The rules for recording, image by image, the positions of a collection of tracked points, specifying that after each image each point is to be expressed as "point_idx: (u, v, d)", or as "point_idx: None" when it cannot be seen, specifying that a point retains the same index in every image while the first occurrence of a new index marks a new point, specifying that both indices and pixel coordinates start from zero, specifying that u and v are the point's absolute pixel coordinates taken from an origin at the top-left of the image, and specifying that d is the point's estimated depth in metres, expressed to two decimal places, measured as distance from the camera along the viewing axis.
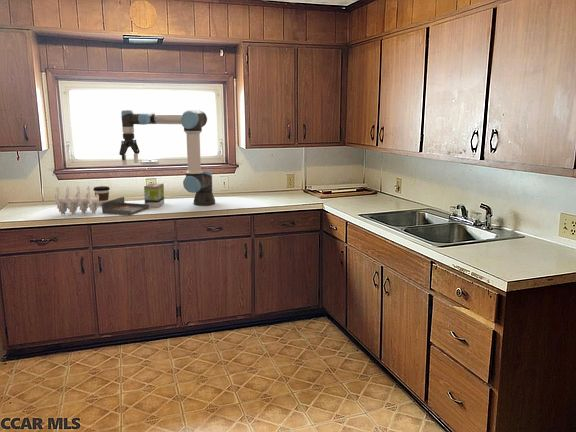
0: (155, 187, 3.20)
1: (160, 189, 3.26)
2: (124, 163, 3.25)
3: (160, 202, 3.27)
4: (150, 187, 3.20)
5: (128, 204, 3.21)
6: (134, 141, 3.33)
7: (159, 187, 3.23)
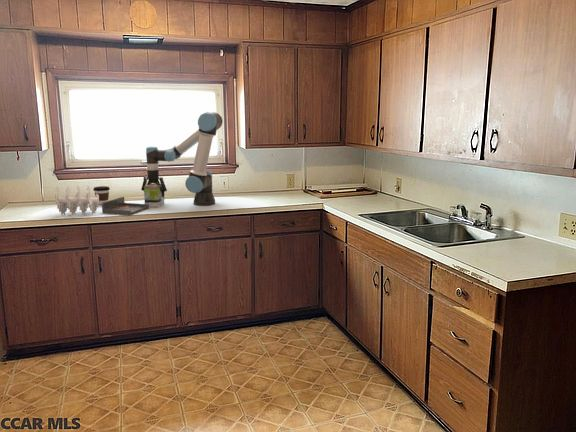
0: (155, 187, 3.20)
1: None
2: None
3: (160, 202, 3.26)
4: (150, 187, 3.20)
5: (128, 204, 3.21)
6: None
7: (159, 187, 3.23)
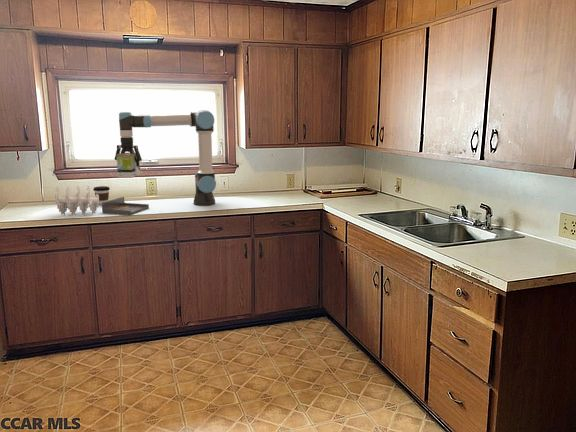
0: (128, 155, 2.96)
1: None
2: None
3: (134, 172, 3.02)
4: (123, 155, 2.96)
5: (128, 204, 3.21)
6: None
7: (133, 156, 2.99)
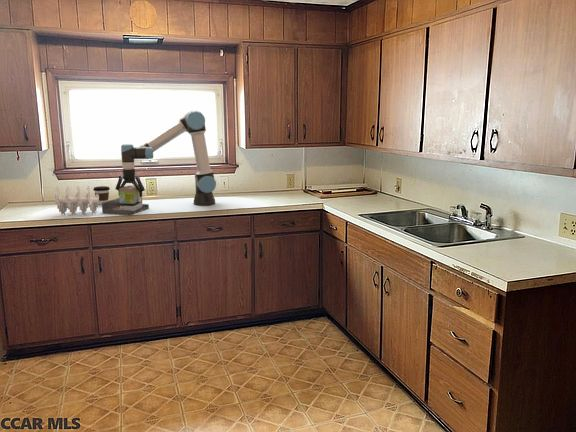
0: (131, 190, 3.00)
1: (137, 192, 3.06)
2: None
3: (137, 205, 3.06)
4: (125, 189, 3.00)
5: None
6: None
7: (135, 190, 3.03)
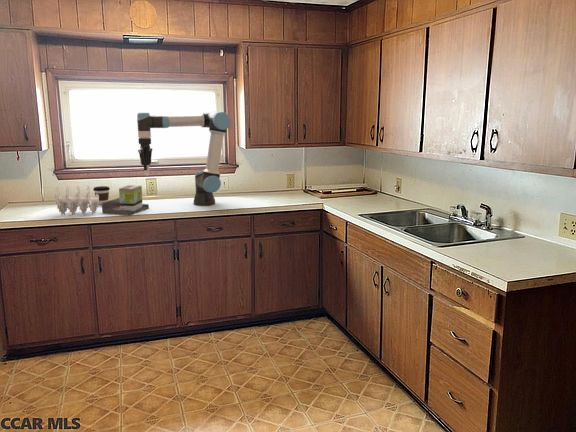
0: (131, 189, 3.00)
1: (137, 192, 3.06)
2: (146, 173, 3.01)
3: (137, 205, 3.06)
4: (125, 189, 3.00)
5: None
6: (150, 149, 3.03)
7: (135, 189, 3.03)
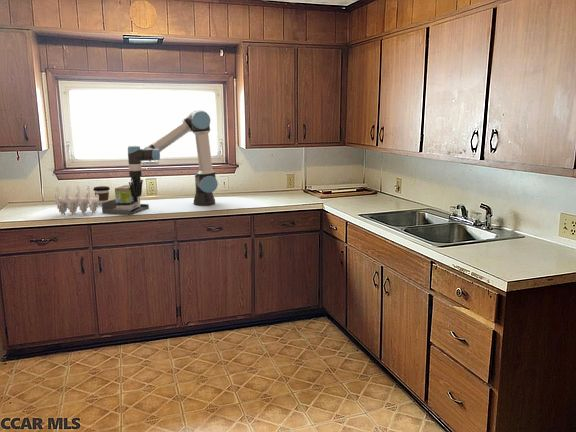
0: (126, 189, 3.00)
1: None
2: (137, 205, 3.07)
3: (133, 205, 3.06)
4: (121, 189, 3.01)
5: None
6: None
7: None
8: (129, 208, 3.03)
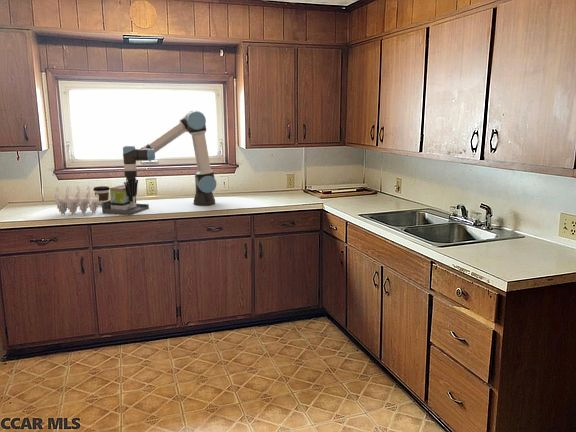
0: (120, 189, 3.01)
1: None
2: (132, 205, 3.08)
3: (127, 205, 3.07)
4: (116, 189, 3.02)
5: None
6: None
7: None
8: (123, 208, 3.03)
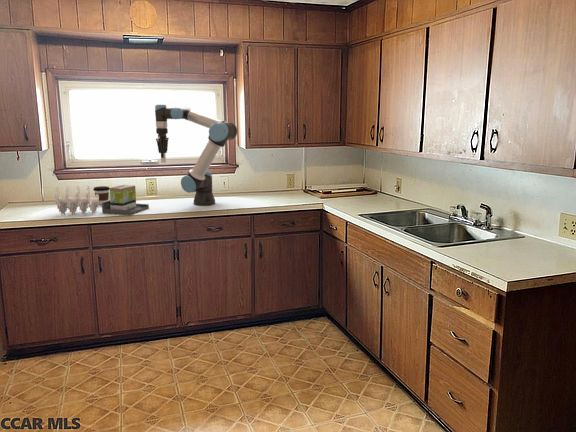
0: (120, 189, 3.01)
1: (128, 192, 3.07)
2: (163, 161, 3.27)
3: (127, 205, 3.07)
4: (115, 189, 3.02)
5: None
6: (166, 138, 3.29)
7: (125, 189, 3.04)
8: (122, 209, 3.03)
